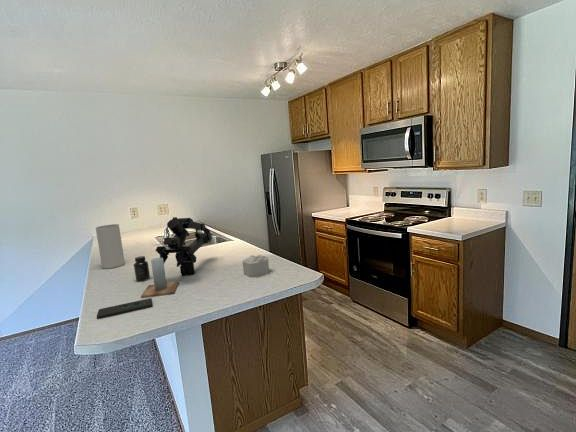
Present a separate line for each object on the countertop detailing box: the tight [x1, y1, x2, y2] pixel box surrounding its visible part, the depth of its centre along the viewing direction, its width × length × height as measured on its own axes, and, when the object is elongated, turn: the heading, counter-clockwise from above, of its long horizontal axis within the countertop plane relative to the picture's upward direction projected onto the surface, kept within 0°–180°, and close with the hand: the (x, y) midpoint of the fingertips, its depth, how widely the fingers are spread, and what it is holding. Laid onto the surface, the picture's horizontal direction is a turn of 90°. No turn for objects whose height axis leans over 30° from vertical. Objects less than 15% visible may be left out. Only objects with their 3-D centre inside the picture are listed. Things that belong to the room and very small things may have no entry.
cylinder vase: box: [95, 223, 126, 270], centre depth 198 cm, size 12×12×25 cm
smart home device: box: [96, 297, 154, 320], centre depth 132 cm, size 8×2×20 cm
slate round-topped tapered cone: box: [150, 257, 167, 290], centre depth 150 cm, size 5×5×14 cm
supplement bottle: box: [133, 255, 151, 282], centre depth 169 cm, size 7×7×12 cm
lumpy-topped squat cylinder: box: [242, 254, 270, 278], centre depth 166 cm, size 10×13×9 cm
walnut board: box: [140, 281, 180, 299], centre depth 151 cm, size 14×14×1 cm
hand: (169, 266), depth 157 cm, fingers open, 9 cm apart
